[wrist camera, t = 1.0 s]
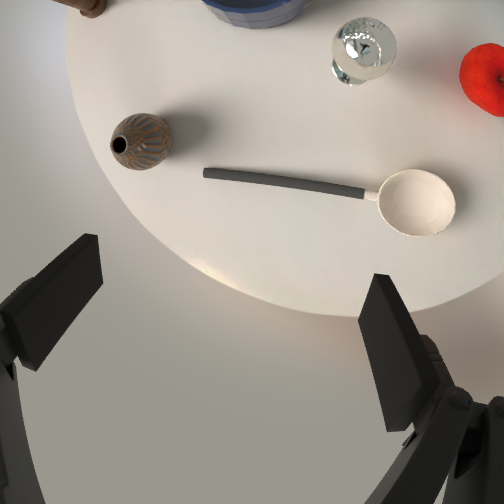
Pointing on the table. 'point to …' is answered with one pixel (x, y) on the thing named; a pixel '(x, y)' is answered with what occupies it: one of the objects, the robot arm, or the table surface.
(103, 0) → the brown wooden post
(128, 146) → the vase
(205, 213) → the table surface
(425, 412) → the robot arm
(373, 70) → the wineglass
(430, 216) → the ladle
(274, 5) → the blue bowl
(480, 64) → the apple
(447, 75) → the table surface
